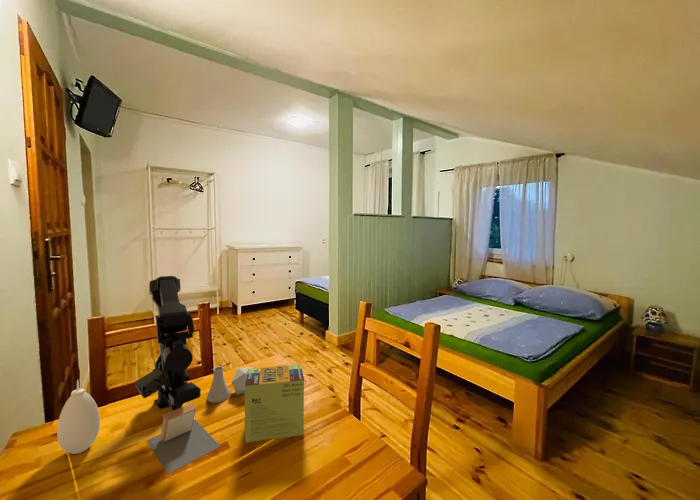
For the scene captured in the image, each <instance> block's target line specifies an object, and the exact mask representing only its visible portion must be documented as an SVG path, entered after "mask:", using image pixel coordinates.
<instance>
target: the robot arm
mask: <svg viewBox="0 0 700 500" xmlns="http://www.w3.org/2000/svg"><path fill="white" fill-rule="evenodd" d="M148 289H149V290H148V292H149V295H151V300H152V302H153V303H154V304H155V306H156V307H157V313H158V314H157V315H158V316H156V317H155V327H156V329H155V330H156V341H157V344H158V345H159V354H158V357H157V358H156V360H155V361H154V369H152V371H150V372H149V373H147V374H145V375H143V376H142V377H140V378H139V379H137V380H135V382H134V386H135V388H136V389H137V391H138V393H139V394H140V396H141V397H142V398H143V399H146V398H149V397H151V396H152V395H154V394H155V393H156V392H157V399H154V400H153V403H154V404H155V405H156V406H157V407H158V409H160V410H163V409H165V408H167V407H170V412H171V411H174V410H176V409H179V408H181V407H183V405H184V404H186V403H189V402H191V401H194V400H196V399H199V398H200V397H201V396H202V395H201V388H200V387H199V386H198V385H197V384H195V383H194V382H192V381H191V382H188V381H190V380H191V379H190V378H191V376H190V374H188V368H189V367H190V365H192V361H193V353H192V352H191V349H190V347H189V345H188V343H187V339H192V338H194V336H193V335H194V333H195V326H194V325H195V324H194V320H193V316H192V314H191V312H188V310H187V307H186V306H187V305H185V304H183V303H180V299H179V298H180V297H179V292H181V289H182V288H181V279H180V278H177V276H175V275H165V276H164V275H162V276H159V277H156V278H155V279H152V280H150V281H149V283H148Z"/></svg>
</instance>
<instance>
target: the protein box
mask: <svg viewBox="0 0 700 500" xmlns="http://www.w3.org/2000/svg"><path fill="white" fill-rule="evenodd" d="M304 406H305V377H304V373H303V368H302V364H301V363H295V364H285V365H275V366H274V365H273V366H272V365H271V366H263V367H255V368H252V369H248V373H247V379H246V383H245V394H244V443H252V442H257V441H258V442H259V441H264V440H265V441H266V440H270V441H272V440H279V439H286V438H293V437H298V436H304V432H305V429H304V428H305V426H304V421H305V419H304V418H305V417H304V416H305V415H304V413H305V407H304Z"/></svg>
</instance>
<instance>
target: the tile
mask: <svg viewBox="0 0 700 500" xmlns="http://www.w3.org/2000/svg"><path fill="white" fill-rule="evenodd" d="M196 411H197V408H196V406H195V403H194V402H191V403H189V404H187V405H184V406H182V407H181V408H179V409H176V410H174V411H171V410H170V411H169V412H166V413H164V414H163V418H162V424H161V429H160V430H161V431H160V434H161V435H160V434H159V435H160V437H161V439H162V442H166V441H168V440H170V439H172V438H174V437H177V436H179V435H181V434H183V433H186V432H188V431H190V430H192V426H193V421H194V420H195V417H196Z"/></svg>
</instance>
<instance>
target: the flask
mask: <svg viewBox="0 0 700 500" xmlns="http://www.w3.org/2000/svg"><path fill="white" fill-rule="evenodd" d="M224 369H225V367H224V366H220V365H219V366H218V365H217V366H215V367H214V368H212V371H213V378H212V382H211V386H210V388H209V391H208V394H207V396H206V400H205V401H207V402H209V403H211V404H212V403H214V404H215V403H222V402H224V401H226V400H227V399H229V398H230V396H231V390H230V389H229V386H228V385H227V383H226V380H225V378H224Z"/></svg>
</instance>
